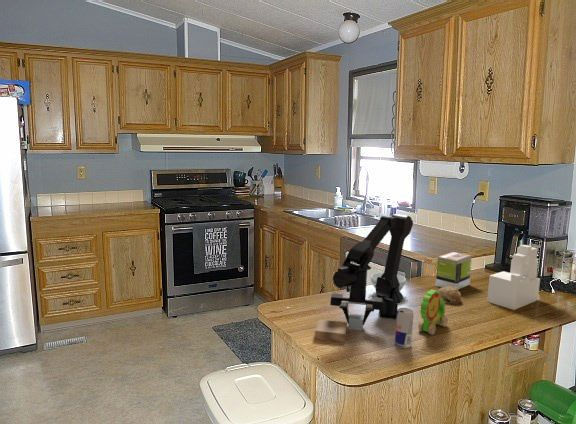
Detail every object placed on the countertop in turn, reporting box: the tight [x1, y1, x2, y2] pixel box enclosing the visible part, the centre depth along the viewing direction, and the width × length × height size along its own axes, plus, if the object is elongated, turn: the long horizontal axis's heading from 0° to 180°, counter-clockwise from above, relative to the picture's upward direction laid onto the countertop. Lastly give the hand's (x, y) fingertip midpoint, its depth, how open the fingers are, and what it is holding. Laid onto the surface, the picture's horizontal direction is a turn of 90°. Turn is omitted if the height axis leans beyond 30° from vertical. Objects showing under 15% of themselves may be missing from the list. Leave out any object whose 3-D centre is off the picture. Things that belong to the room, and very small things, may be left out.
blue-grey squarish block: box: [347, 312, 364, 331], centre depth 164 cm, size 5×5×4 cm
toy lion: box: [417, 289, 449, 336], centre depth 163 cm, size 16×5×15 cm, turn 137°
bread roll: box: [437, 286, 462, 305], centre depth 196 cm, size 10×10×8 cm
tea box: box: [435, 251, 472, 291], centre depth 216 cm, size 15×10×15 cm, turn 133°
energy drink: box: [394, 307, 415, 349], centre depth 150 cm, size 5×5×12 cm
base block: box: [314, 319, 348, 343], centre depth 157 cm, size 10×10×3 cm
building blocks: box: [486, 244, 541, 311], centre depth 196 cm, size 22×12×25 cm, turn 128°
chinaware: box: [370, 272, 407, 292], centre depth 201 cm, size 15×15×8 cm
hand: (355, 324), depth 164 cm, fingers closed on blue-grey squarish block, 5 cm apart
